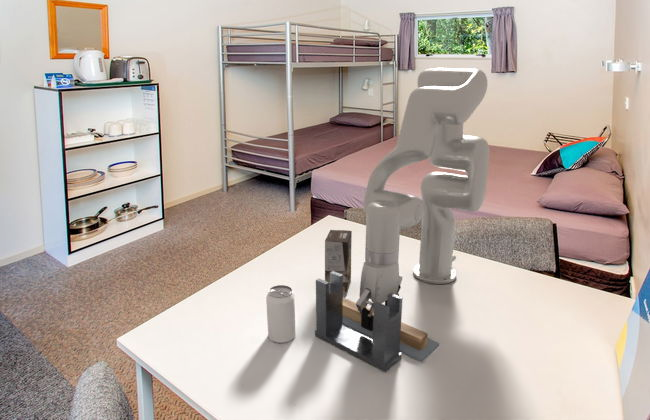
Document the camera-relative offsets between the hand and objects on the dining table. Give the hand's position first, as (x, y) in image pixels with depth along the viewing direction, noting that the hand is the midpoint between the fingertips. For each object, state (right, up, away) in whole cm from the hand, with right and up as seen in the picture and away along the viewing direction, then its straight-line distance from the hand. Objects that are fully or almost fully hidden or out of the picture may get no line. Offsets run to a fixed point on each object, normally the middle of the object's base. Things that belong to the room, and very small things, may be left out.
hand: (379, 319), depth 108 cm
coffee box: (-9, +4, +21) cm, 23 cm away
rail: (0, -2, +1) cm, 2 cm away
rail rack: (-6, -5, -6) cm, 9 cm away
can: (-23, -4, -1) cm, 24 cm away
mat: (0, -3, +1) cm, 3 cm away
